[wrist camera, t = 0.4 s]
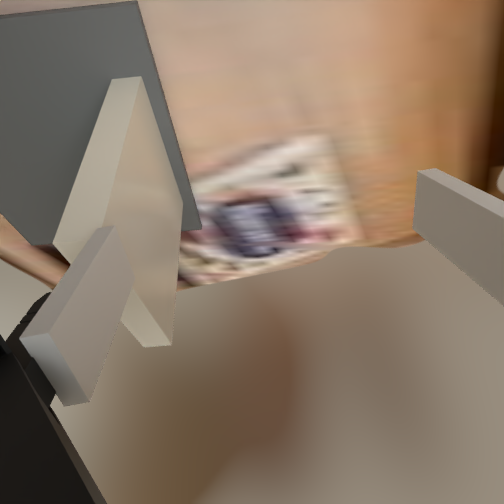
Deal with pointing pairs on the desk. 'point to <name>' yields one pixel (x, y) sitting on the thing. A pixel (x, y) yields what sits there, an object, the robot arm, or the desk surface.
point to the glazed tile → (130, 207)
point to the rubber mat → (68, 106)
